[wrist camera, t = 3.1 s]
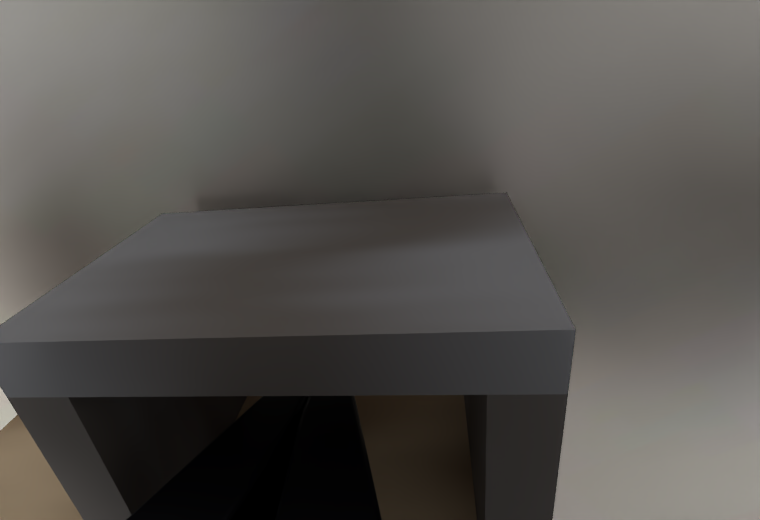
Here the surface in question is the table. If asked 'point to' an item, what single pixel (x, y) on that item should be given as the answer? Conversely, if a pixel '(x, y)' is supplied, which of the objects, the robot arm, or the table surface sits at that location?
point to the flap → (297, 355)
